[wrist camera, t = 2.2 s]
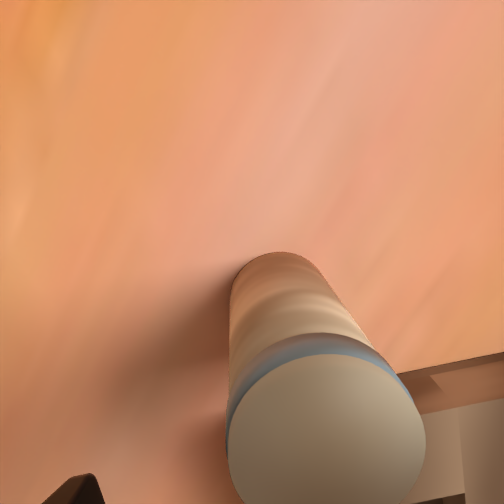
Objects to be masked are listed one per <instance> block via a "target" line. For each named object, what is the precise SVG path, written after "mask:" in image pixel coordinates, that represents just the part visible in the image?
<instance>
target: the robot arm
mask: <svg viewBox="0 0 504 504" xmlns="http://www.w3.org/2000/svg"><path fill="white" fill-rule="evenodd" d="M42 504H105V502H104V499H103V496H102V493H101V490H100V487H99V485H98V482H97V479H96V477H95V476H94V475H93V474H91V473H88V474H83V475H78V476H74V477H71V478H69V479H68V480H67V481H66V482H65V483H64V484H63V485H61V486H60V487H59V488H58V489H57V490H56V491H55V492H54V493H53V494H52V495H51V496H50V497H48V498H47V499H46V500H45V501H44V502H43V503H42Z"/></svg>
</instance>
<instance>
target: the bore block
mask: <svg viewBox="0 0 504 504" xmlns="http://www.w3.org/2000/svg"><path fill="white" fill-rule="evenodd" d="M396 375H397V376H398V378H399V379H400V380H401V382H402V383H403V385H404V386H405V387H406V389H407V390H408V392H409V394H410V396H411V397H412V399H413V402H414V404H415V406H416V408H417V410H418V412H419V414H420V416H421V419H422V422H423V425H424V430H425V435H426V450H425V458H424V462H423V465H422V469H421V471H420V474H419V476H418V478H417V480H416V482H415V484H414V485H413V487H412V489H411V490H410V491H409V493H408V494H407V495H406V497H405V498H404V499H403V500H402V501H401V502H400V503H399V504H504V352H503V353H498V354H493V355H488V356H483V357H478V358H474V359H469V360H464V361H459V362H454V363H449V364H444V365H440V366H435V367H430V368H425V369H420V370H415V371H410V372H405V373H401V374H396Z"/></svg>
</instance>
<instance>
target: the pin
mask: <svg viewBox="0 0 504 504" xmlns="http://www.w3.org/2000/svg"><path fill="white" fill-rule="evenodd" d="M425 450H426V435H425V430H424V425H423V422H422V419H421V416H420V414H419V412H418V410H417V408H416V406H415V404H414V402H413V399H412V397H411V396H410V394H409V392H408V390H407V389H406V387H405V386H404V385H403V383H402V382H401V380H400V379H399V378H398V376H397V375H396V374H395V372H394V371H393V369H392V368H391V367H390V365H389V364H388V363H387V361H386V360H385V359H384V358H383V357H382V356H381V355H380V354H379V353H378V352H377V351H376V350H375V348H374V347H373V346H372V344H371V343H370V341H369V340H368V339H367V337H366V336H365V334H364V333H363V332H362V330H361V329H360V327H359V326H358V325H357V323H356V322H355V320H354V319H353V318H352V316H351V315H350V313H349V312H348V311H347V309H346V308H345V306H344V305H343V304H342V302H341V301H340V299H339V298H338V297H337V295H336V294H335V292H334V291H333V289H332V288H331V287H330V285H329V284H328V282H327V281H326V280H325V278H324V277H323V275H322V274H321V273H320V271H319V270H318V269H317V268H316V267H315V266H314V265H313V264H312V263H311V262H310V261H308V260H307V259H305V258H303V257H301V256H299V255H296V254H292V253H287V252H274V253H268V254H265V255H262V256H259V257H257V258H255V259H254V260H252V261H251V262H249V263H248V264H247V265H246V266H245V267H243V268H242V270H241V271H240V272H239V273H238V275H237V277H236V278H235V280H234V282H233V285H232V288H231V293H230V333H229V398H228V402H227V409H226V453H227V459H228V466H229V471H230V476H231V479H232V482H233V485H234V487H235V489H236V491H237V493H238V495H239V496H240V498H241V499H242V501H243V502H244V503H245V504H399V503H400V502H401V501H402V500H403V499H404V498H405V497H406V495H407V494H408V493H409V491H410V490H411V489H412V487H413V485H414V484H415V482H416V480H417V478H418V476H419V474H420V471H421V469H422V465H423V462H424V458H425Z"/></svg>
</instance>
